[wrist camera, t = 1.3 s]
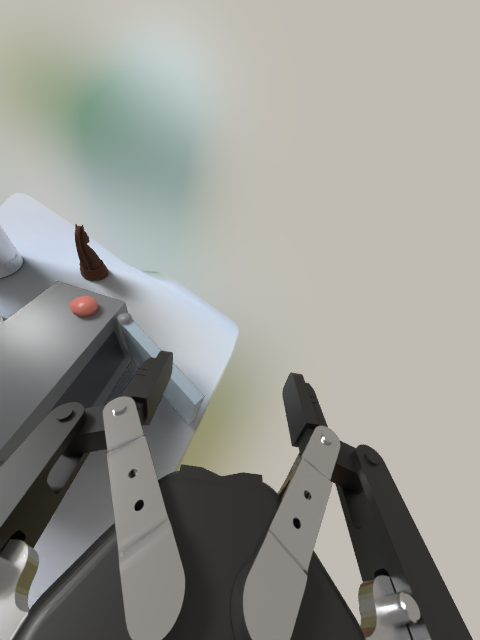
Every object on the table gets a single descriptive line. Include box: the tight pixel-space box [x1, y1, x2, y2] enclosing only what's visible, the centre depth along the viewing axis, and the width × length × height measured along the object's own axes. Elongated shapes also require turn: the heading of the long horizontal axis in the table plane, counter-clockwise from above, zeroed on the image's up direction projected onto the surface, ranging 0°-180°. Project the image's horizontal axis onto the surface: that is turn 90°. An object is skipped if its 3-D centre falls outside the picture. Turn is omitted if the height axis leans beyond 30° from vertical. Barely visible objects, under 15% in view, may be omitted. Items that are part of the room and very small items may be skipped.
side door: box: [117, 313, 204, 425], centre depth 25 cm, size 2×14×11 cm, turn 49°
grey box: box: [0, 281, 131, 467], centre depth 22 cm, size 8×18×13 cm, turn 169°
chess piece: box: [75, 225, 108, 281], centre depth 36 cm, size 5×5×10 cm
